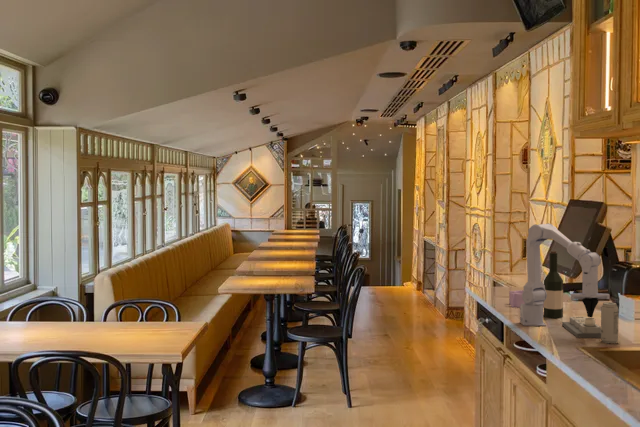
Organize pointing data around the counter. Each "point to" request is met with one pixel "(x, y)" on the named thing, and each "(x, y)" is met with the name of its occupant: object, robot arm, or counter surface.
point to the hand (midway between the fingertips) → (590, 316)
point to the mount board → (582, 329)
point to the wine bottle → (553, 290)
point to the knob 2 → (589, 321)
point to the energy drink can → (609, 322)
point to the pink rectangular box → (516, 298)
